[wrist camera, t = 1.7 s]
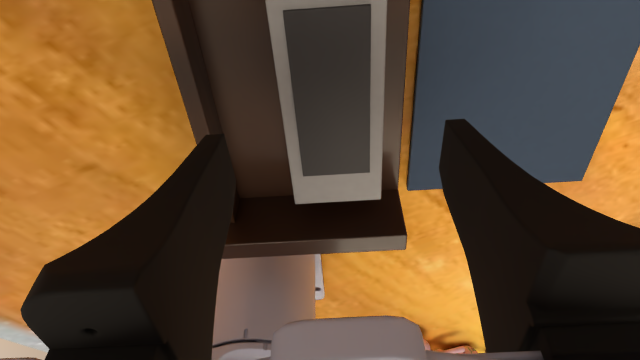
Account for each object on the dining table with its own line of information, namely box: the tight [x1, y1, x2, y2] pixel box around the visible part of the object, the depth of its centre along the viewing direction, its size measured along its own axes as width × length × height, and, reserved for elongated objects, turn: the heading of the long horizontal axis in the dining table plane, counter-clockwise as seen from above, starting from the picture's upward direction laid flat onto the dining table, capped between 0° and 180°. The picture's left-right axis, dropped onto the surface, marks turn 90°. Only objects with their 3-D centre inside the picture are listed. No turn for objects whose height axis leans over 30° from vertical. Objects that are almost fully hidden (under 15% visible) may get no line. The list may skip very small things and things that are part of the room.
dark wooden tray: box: [152, 0, 410, 259], centre depth 20 cm, size 20×10×6 cm, turn 4°
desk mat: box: [407, 0, 640, 191], centre depth 22 cm, size 20×11×1 cm, turn 4°
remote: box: [265, 0, 387, 204], centre depth 19 cm, size 14×4×3 cm, turn 4°
